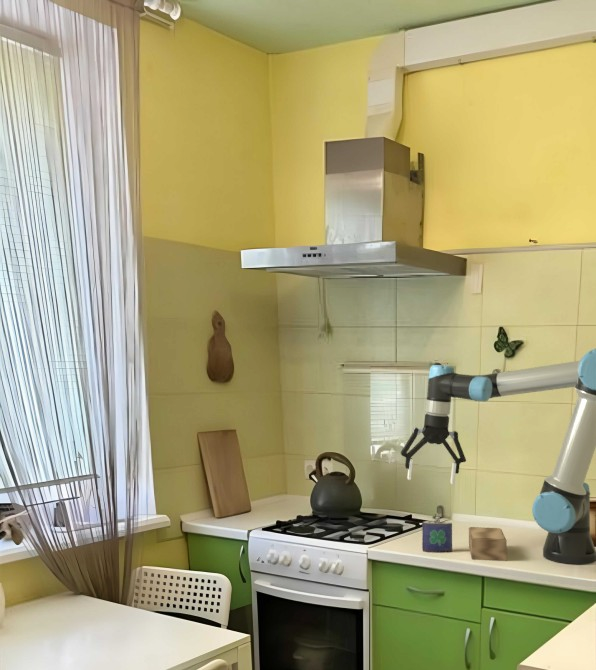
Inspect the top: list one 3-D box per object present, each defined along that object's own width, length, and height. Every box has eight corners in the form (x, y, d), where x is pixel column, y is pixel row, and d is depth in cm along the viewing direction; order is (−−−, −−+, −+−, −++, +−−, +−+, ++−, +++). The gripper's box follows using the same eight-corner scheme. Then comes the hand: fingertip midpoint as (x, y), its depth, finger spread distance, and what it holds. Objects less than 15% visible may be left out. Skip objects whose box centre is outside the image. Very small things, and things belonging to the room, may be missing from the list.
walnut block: (501, 548, 238) (501, 527, 238) (506, 560, 222) (506, 539, 222) (468, 546, 240) (468, 526, 240) (471, 559, 224) (471, 537, 224)
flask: (451, 550, 235) (451, 515, 235) (453, 552, 232) (452, 517, 232) (421, 550, 235) (421, 515, 235) (423, 552, 232) (422, 517, 233)
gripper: (474, 416, 240) (467, 482, 240) (396, 408, 240) (389, 474, 241) (479, 419, 232) (472, 487, 233) (399, 411, 233) (392, 479, 233)
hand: (430, 481), depth 237 cm, fingers open, 13 cm apart
